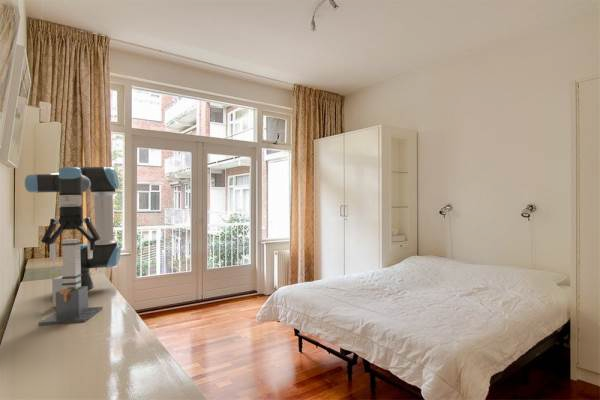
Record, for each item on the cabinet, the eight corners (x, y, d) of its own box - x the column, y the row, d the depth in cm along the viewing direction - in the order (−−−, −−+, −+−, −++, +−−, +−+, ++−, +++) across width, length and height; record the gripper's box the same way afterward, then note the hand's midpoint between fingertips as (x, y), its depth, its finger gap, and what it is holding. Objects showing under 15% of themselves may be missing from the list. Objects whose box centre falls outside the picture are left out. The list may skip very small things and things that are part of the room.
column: (68, 293, 138) (67, 239, 138) (82, 292, 139) (81, 238, 139) (62, 296, 133) (61, 240, 133) (76, 296, 134) (75, 239, 134)
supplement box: (80, 302, 156) (79, 274, 156) (67, 307, 149) (67, 278, 149) (65, 302, 157) (64, 274, 157) (52, 307, 150) (51, 278, 150)
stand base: (61, 311, 143) (60, 283, 143) (102, 308, 145) (102, 281, 145) (38, 325, 127) (38, 293, 127) (85, 321, 130) (85, 290, 130)
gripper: (30, 206, 131) (31, 262, 130) (100, 205, 135) (101, 259, 135) (41, 206, 138) (42, 259, 138) (108, 205, 142) (109, 256, 142)
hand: (71, 259), depth 136 cm, fingers open, 13 cm apart
